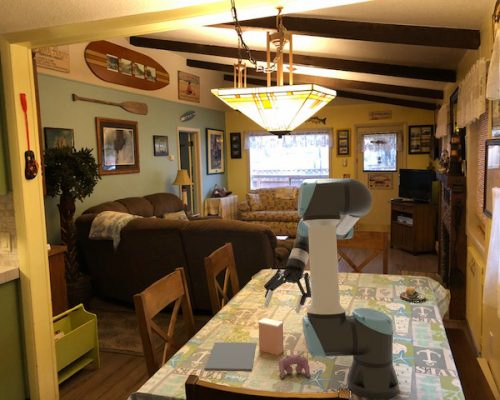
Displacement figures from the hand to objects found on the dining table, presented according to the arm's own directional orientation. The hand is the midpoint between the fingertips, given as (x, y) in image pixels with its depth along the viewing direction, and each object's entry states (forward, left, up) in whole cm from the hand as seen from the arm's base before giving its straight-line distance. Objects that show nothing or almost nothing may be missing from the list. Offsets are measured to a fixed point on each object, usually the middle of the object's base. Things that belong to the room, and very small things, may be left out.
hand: (280, 309), depth 161 cm
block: (-8, +4, -13) cm, 16 cm away
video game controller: (-25, -5, -13) cm, 28 cm away
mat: (-13, +18, -13) cm, 25 cm away
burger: (+50, -64, -13) cm, 82 cm away
